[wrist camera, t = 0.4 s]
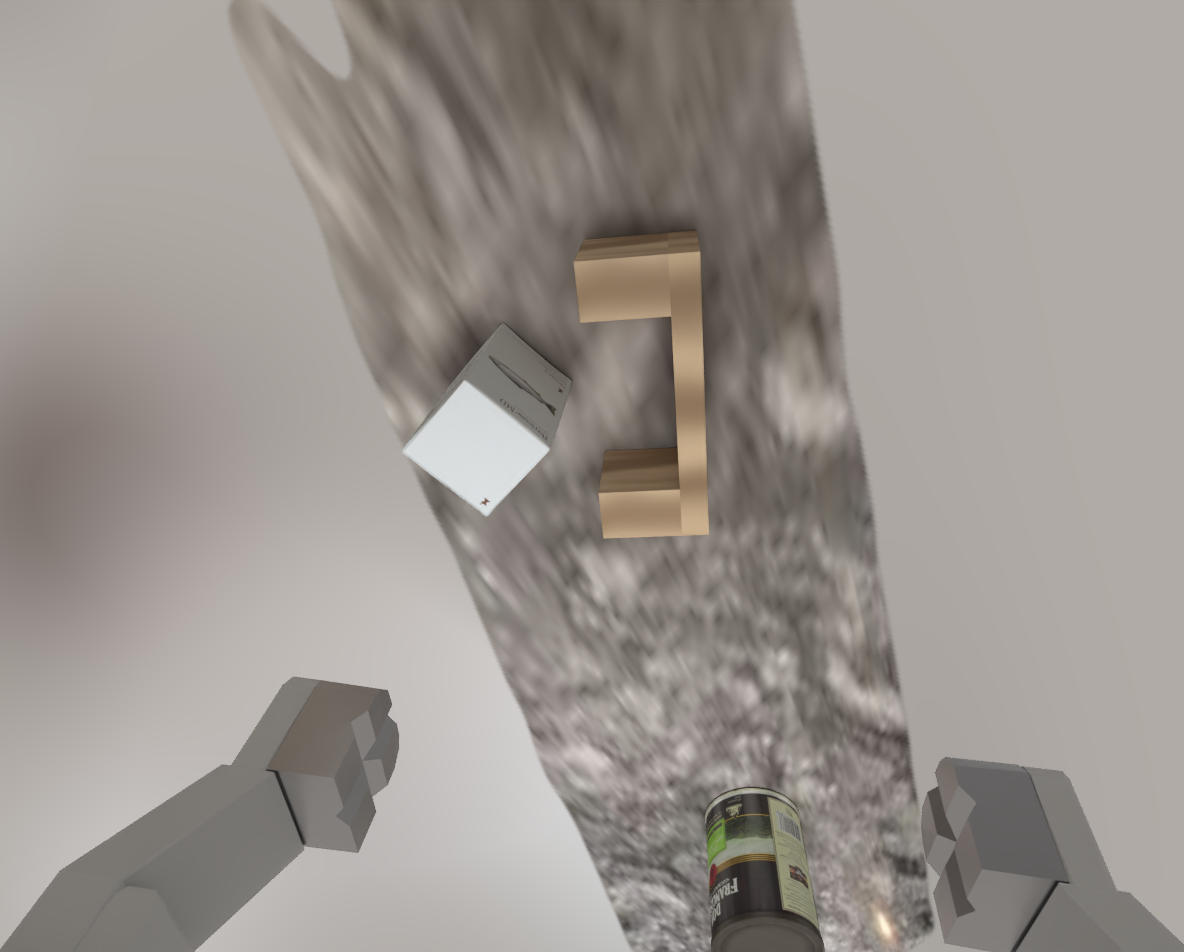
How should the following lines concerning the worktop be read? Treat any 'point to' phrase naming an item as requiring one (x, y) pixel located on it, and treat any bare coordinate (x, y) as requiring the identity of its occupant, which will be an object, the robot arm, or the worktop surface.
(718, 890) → the coffee can
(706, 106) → the worktop surface
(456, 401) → the supplement box
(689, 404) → the oak rack
